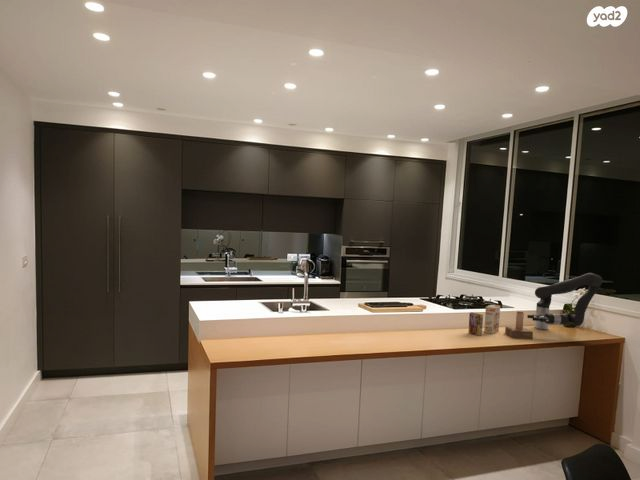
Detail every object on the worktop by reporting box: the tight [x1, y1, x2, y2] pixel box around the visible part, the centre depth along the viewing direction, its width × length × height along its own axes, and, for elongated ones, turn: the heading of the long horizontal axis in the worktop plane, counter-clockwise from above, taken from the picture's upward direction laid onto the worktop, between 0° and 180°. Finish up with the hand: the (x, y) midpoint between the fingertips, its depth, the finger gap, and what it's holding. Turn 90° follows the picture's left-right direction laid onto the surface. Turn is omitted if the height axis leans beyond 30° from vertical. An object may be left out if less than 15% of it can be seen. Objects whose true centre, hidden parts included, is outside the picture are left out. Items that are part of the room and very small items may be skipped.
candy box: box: [467, 312, 484, 337], centre depth 325 cm, size 9×4×15 cm, turn 39°
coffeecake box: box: [483, 304, 501, 335], centre depth 336 cm, size 15×7×20 cm, turn 143°
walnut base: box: [504, 326, 534, 340], centre depth 326 cm, size 14×14×5 cm
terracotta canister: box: [515, 310, 525, 330], centre depth 326 cm, size 5×5×13 cm
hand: (530, 317), depth 326 cm, fingers open, 8 cm apart
